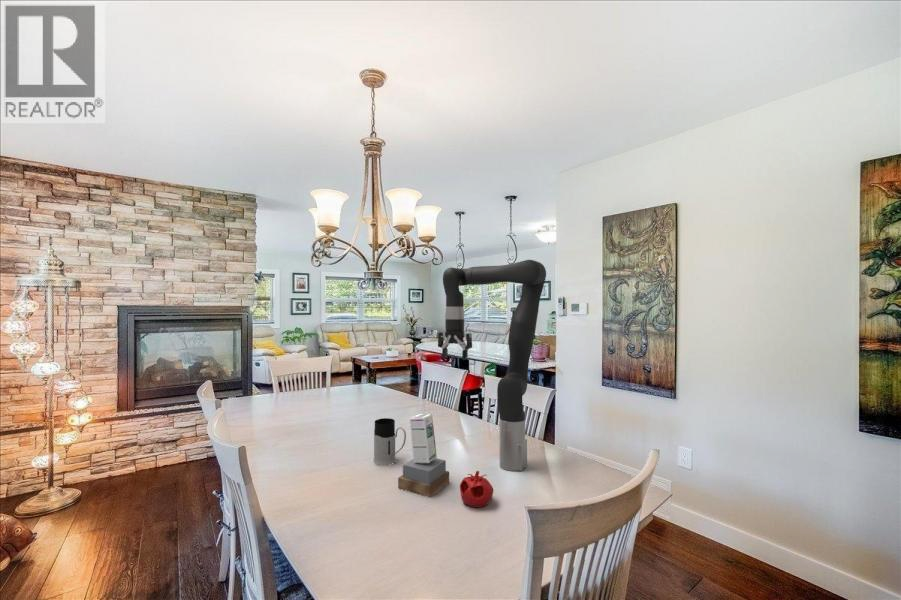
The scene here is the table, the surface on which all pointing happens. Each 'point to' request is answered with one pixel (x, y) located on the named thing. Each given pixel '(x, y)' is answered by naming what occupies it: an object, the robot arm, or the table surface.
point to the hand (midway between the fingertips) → (454, 358)
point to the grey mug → (385, 441)
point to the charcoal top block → (424, 470)
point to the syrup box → (423, 438)
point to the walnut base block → (423, 485)
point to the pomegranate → (476, 490)
